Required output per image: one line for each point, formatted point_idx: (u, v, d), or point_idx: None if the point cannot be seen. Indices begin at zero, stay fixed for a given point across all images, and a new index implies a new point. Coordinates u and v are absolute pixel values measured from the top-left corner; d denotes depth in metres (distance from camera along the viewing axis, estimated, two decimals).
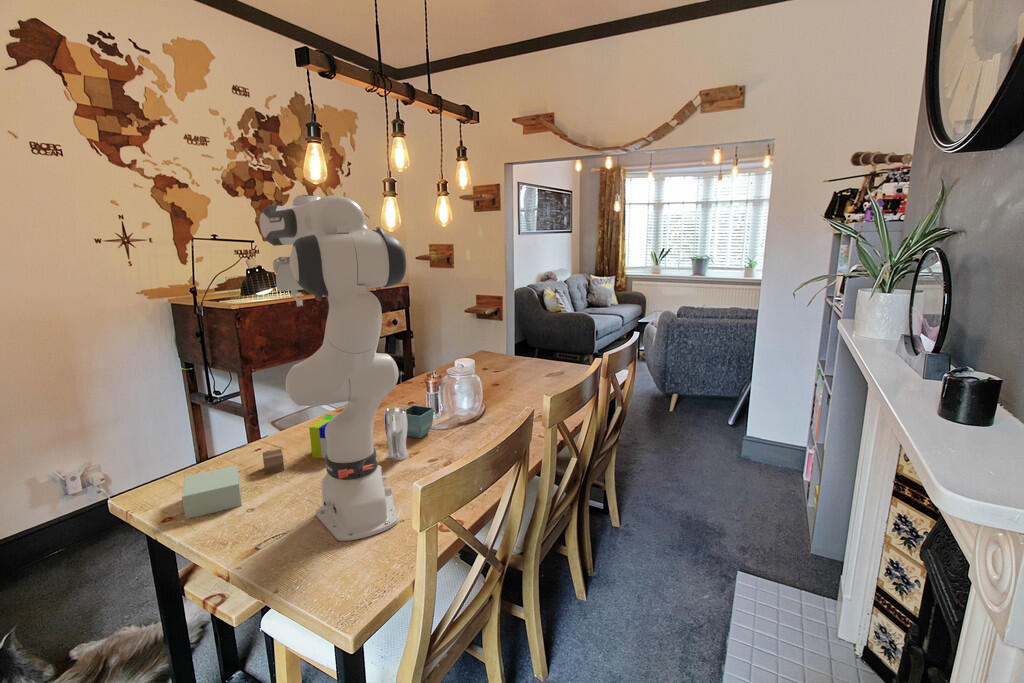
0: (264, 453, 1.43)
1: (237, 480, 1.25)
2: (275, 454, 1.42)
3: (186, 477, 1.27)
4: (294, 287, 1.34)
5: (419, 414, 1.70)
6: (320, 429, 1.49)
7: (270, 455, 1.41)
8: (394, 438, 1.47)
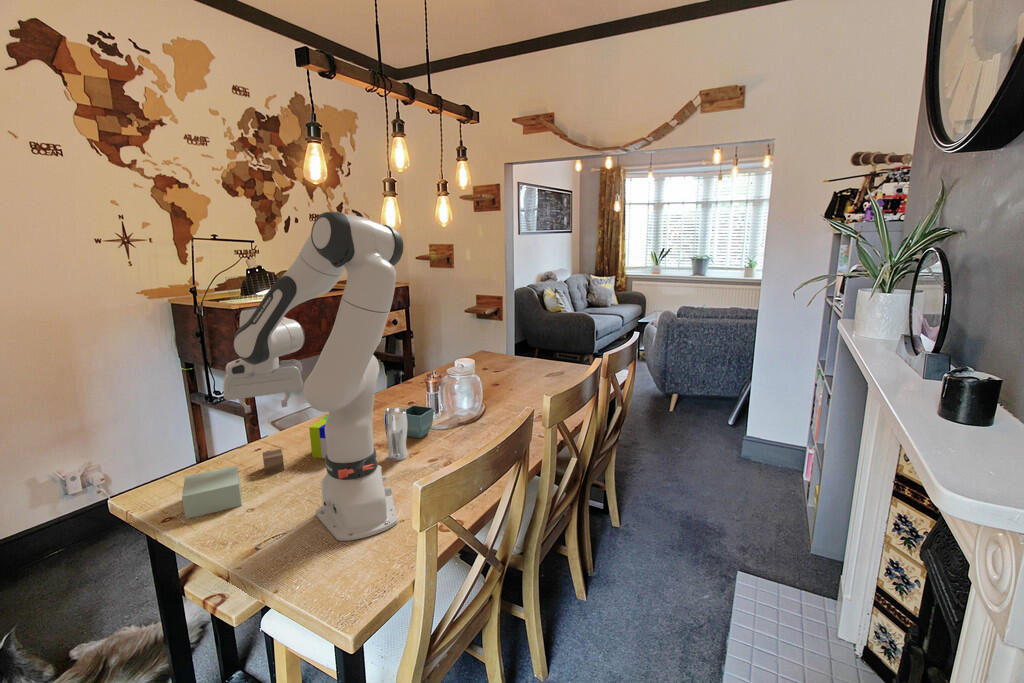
0: (264, 453, 1.43)
1: (237, 480, 1.25)
2: (275, 454, 1.42)
3: (186, 477, 1.27)
4: None
5: (419, 414, 1.70)
6: (320, 429, 1.49)
7: (270, 455, 1.41)
8: (394, 438, 1.47)
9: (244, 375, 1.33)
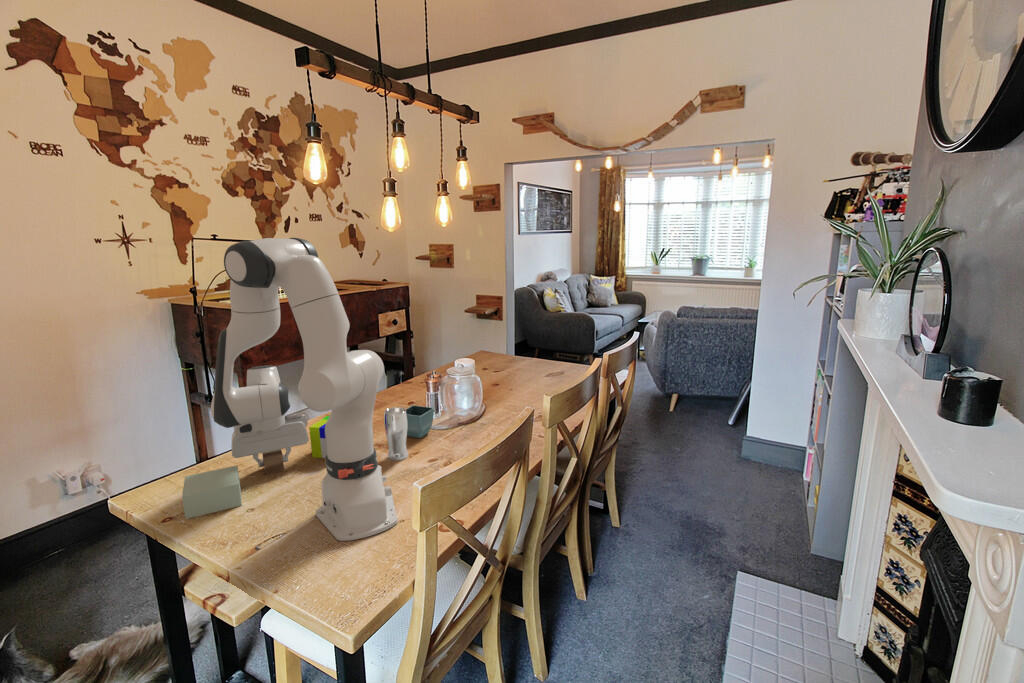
0: (264, 453, 1.43)
1: (237, 480, 1.25)
2: (275, 454, 1.42)
3: (186, 477, 1.27)
4: None
5: (419, 414, 1.70)
6: (320, 429, 1.49)
7: (270, 455, 1.41)
8: (394, 438, 1.47)
9: (251, 433, 1.36)
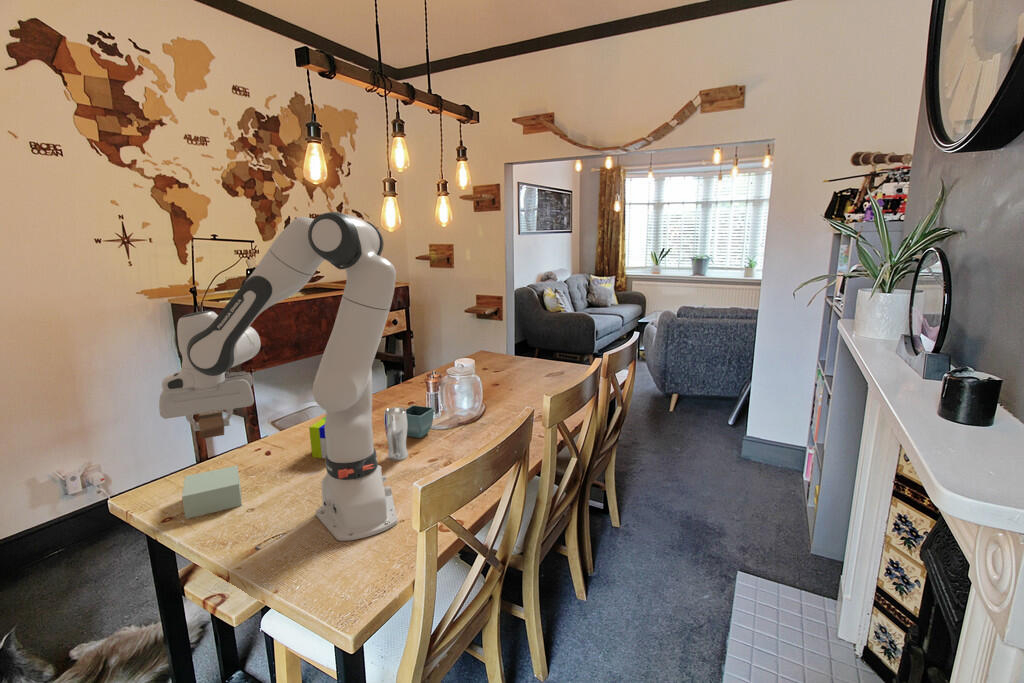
0: (201, 415, 1.24)
1: (237, 480, 1.25)
2: (213, 416, 1.23)
3: (186, 477, 1.27)
4: None
5: (419, 414, 1.70)
6: (320, 429, 1.49)
7: (207, 417, 1.22)
8: (394, 438, 1.47)
9: (183, 390, 1.18)
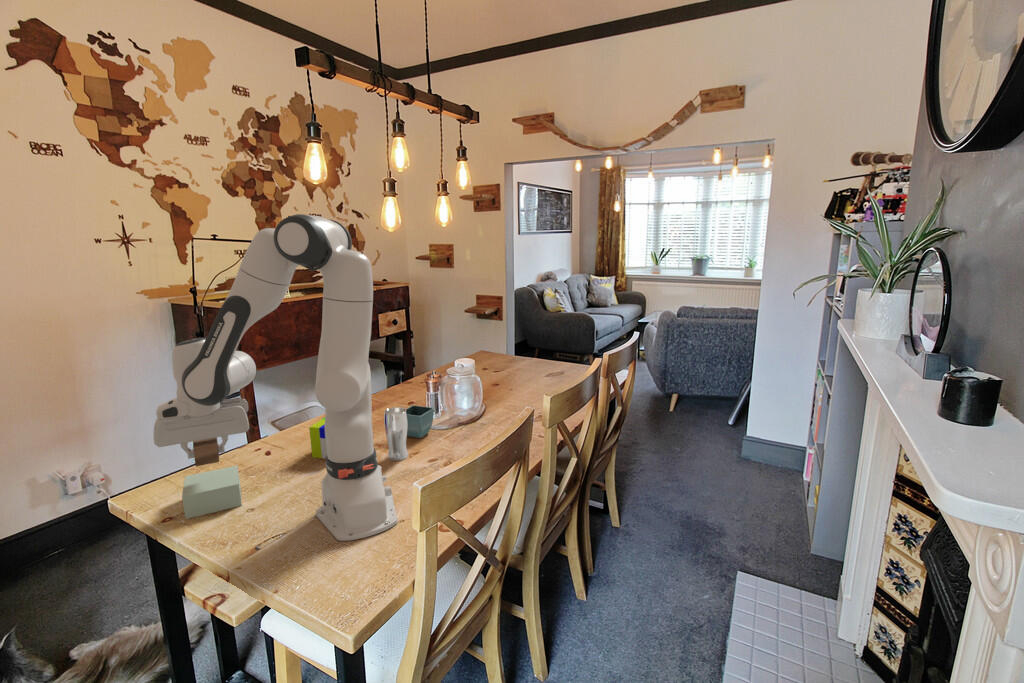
0: (195, 441, 1.23)
1: (237, 480, 1.25)
2: (208, 443, 1.22)
3: (186, 477, 1.27)
4: None
5: (419, 414, 1.70)
6: (320, 429, 1.49)
7: (202, 444, 1.21)
8: (394, 438, 1.47)
9: (178, 418, 1.17)
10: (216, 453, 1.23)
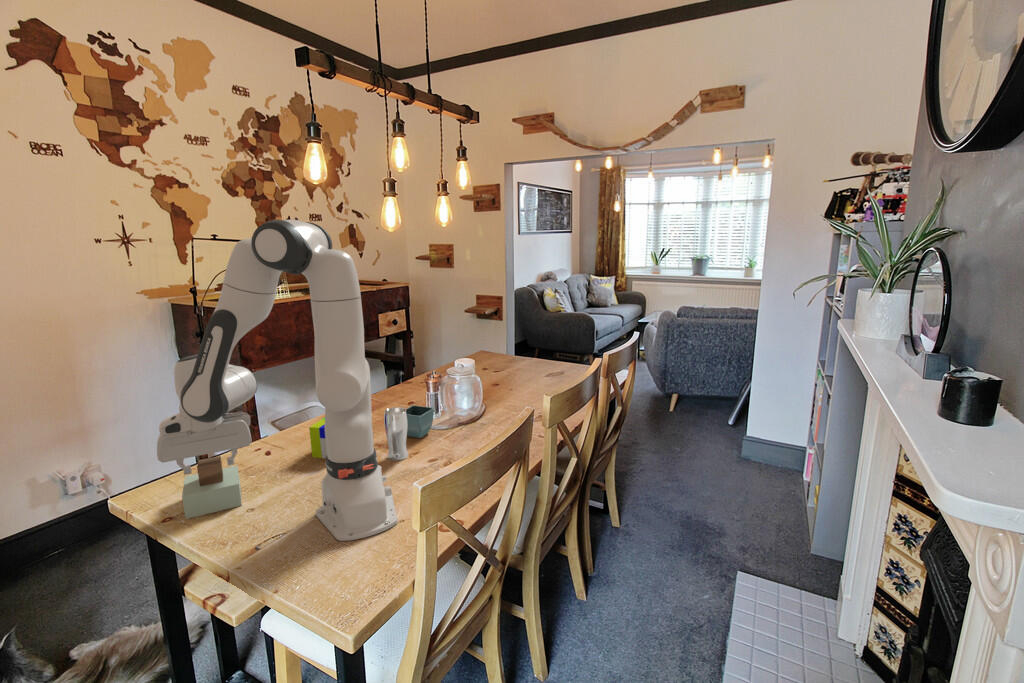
0: (200, 461, 1.24)
1: (237, 480, 1.25)
2: (212, 462, 1.23)
3: (186, 477, 1.27)
4: None
5: (419, 414, 1.70)
6: (320, 429, 1.49)
7: (206, 464, 1.23)
8: (394, 438, 1.47)
9: (180, 434, 1.17)
10: (220, 473, 1.24)
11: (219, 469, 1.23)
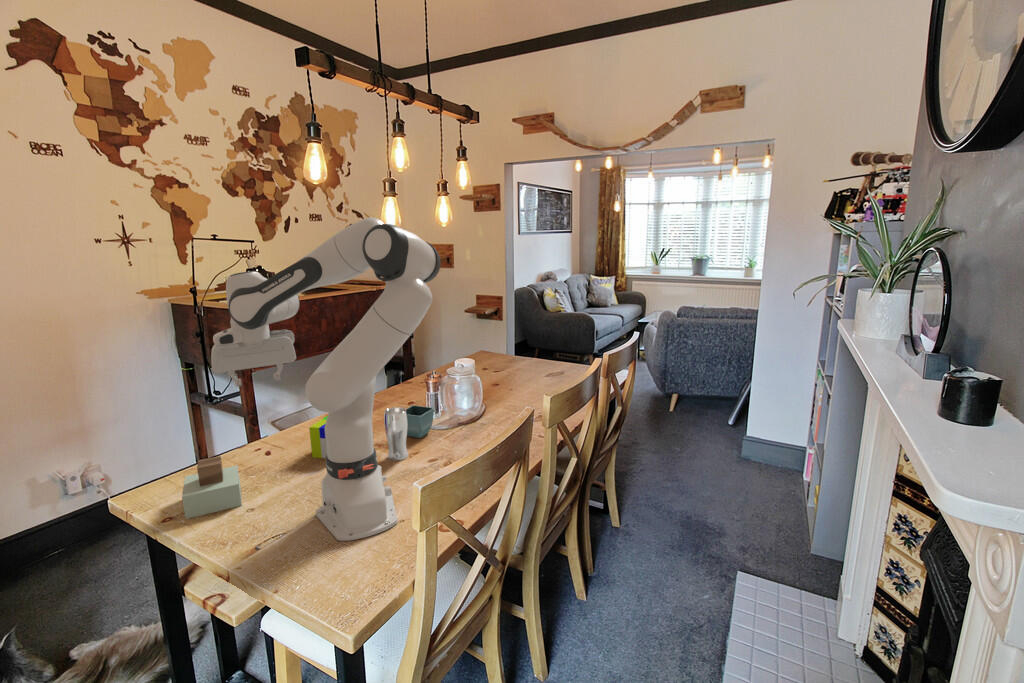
0: (200, 461, 1.24)
1: (237, 480, 1.25)
2: (212, 462, 1.23)
3: (186, 477, 1.27)
4: None
5: (419, 414, 1.70)
6: (320, 429, 1.49)
7: (206, 464, 1.23)
8: (394, 438, 1.47)
9: (233, 345, 1.25)
10: (220, 473, 1.24)
11: (219, 469, 1.23)
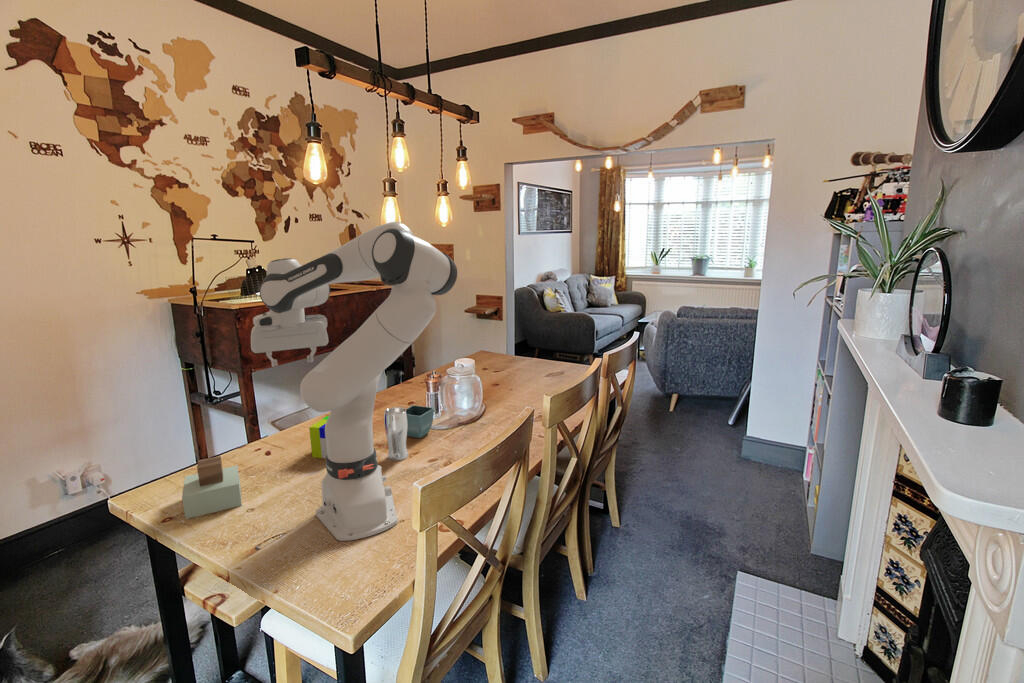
0: (200, 461, 1.24)
1: (237, 480, 1.25)
2: (212, 462, 1.23)
3: (186, 477, 1.27)
4: None
5: (419, 414, 1.70)
6: (320, 429, 1.49)
7: (206, 464, 1.23)
8: (394, 438, 1.47)
9: (271, 327, 1.33)
10: (220, 473, 1.24)
11: (219, 469, 1.23)
